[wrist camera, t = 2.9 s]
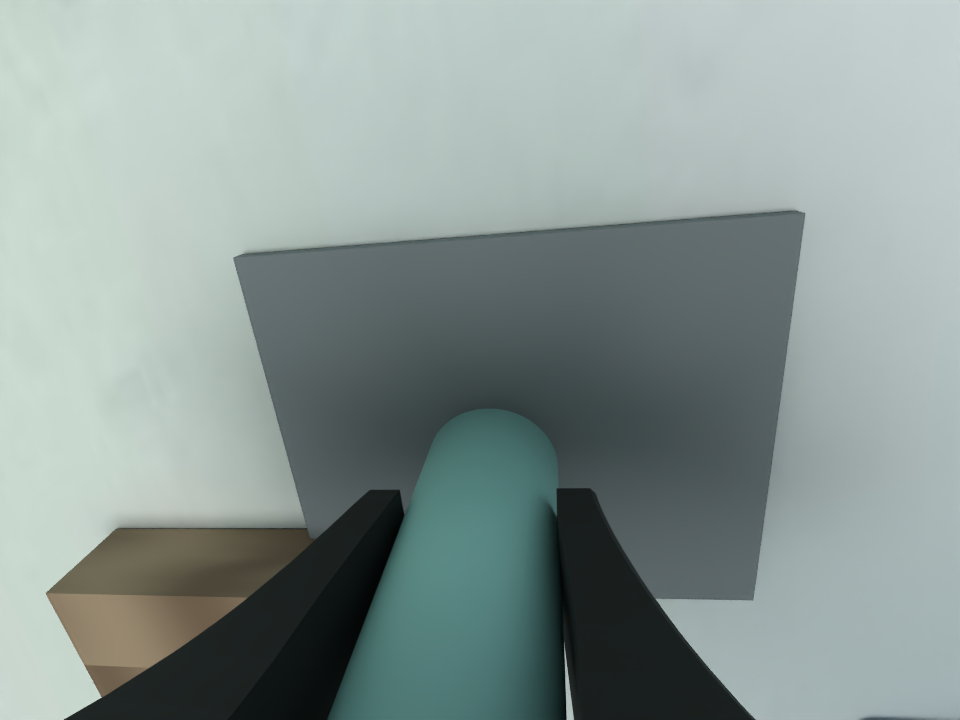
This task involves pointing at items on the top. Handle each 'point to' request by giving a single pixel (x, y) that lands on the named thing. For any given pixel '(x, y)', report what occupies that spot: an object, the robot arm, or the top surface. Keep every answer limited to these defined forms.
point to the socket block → (162, 591)
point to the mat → (548, 371)
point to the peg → (469, 586)
